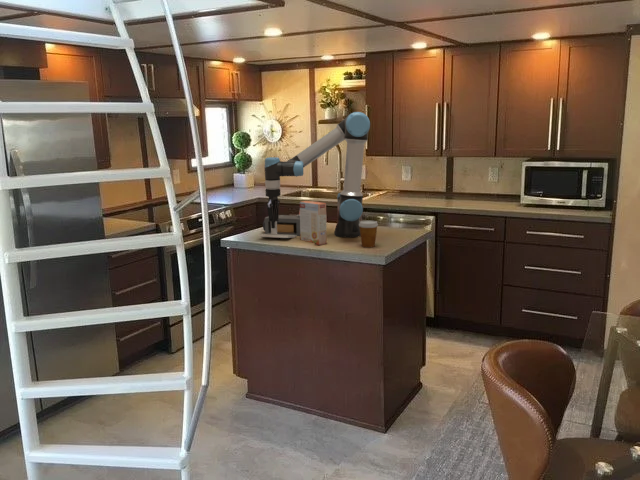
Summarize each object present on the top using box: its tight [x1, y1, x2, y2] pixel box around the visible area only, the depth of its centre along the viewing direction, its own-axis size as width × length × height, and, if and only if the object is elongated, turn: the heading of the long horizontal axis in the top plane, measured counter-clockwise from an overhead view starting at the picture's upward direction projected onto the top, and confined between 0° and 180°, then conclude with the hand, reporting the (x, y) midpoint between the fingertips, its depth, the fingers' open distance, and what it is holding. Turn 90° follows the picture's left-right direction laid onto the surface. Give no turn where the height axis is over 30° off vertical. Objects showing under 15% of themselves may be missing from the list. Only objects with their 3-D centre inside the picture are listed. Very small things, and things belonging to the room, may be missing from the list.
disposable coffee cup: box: [359, 220, 379, 248], centre depth 286 cm, size 10×10×12 cm
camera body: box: [262, 214, 300, 237], centre depth 316 cm, size 22×10×11 cm, turn 73°
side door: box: [258, 233, 297, 239], centre depth 305 cm, size 16×1×13 cm
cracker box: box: [299, 200, 328, 246], centre depth 295 cm, size 14×6×21 cm, turn 43°
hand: (274, 233), depth 300 cm, fingers closed
